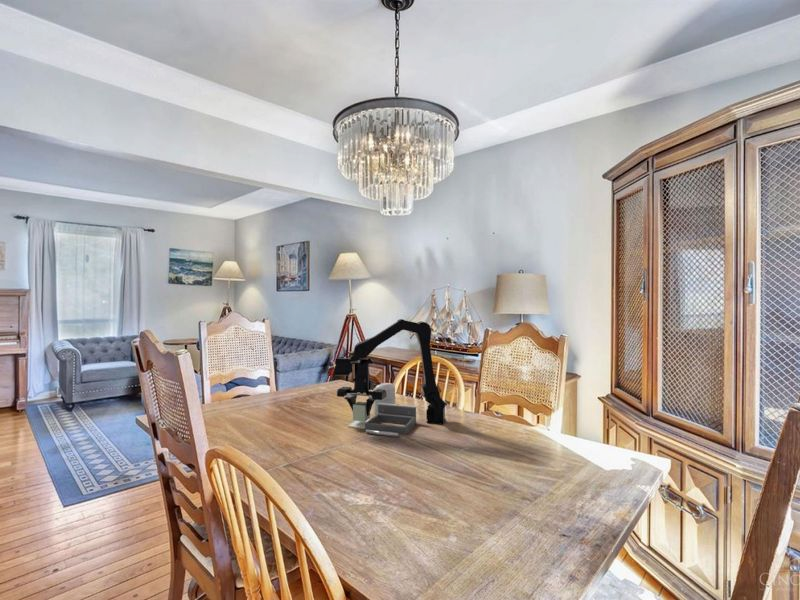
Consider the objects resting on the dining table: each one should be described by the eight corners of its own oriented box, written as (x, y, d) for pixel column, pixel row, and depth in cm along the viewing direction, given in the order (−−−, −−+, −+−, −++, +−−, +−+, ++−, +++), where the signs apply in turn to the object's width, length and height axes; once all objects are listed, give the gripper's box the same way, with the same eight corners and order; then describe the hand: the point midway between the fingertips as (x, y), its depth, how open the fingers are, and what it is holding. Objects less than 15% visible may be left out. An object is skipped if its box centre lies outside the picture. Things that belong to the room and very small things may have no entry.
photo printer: (389, 408, 180) (389, 380, 180) (396, 410, 177) (396, 382, 177) (371, 413, 173) (371, 384, 173) (378, 415, 170) (378, 386, 170)
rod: (398, 436, 145) (398, 432, 145) (397, 437, 144) (397, 433, 144) (367, 432, 149) (367, 428, 149) (365, 434, 147) (365, 430, 147)
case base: (414, 424, 159) (414, 416, 159) (405, 434, 147) (405, 426, 147) (377, 420, 164) (377, 413, 164) (365, 430, 152) (365, 422, 152)
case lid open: (416, 422, 160) (416, 406, 160) (415, 424, 159) (415, 407, 159) (378, 419, 165) (378, 402, 165) (376, 420, 164) (376, 403, 164)
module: (369, 417, 160) (369, 401, 160) (365, 421, 156) (364, 405, 156) (358, 416, 162) (358, 400, 162) (352, 420, 157) (352, 404, 157)
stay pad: (374, 421, 163) (374, 420, 163) (364, 428, 153) (364, 427, 153) (358, 419, 165) (358, 418, 165) (347, 426, 155) (347, 425, 155)
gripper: (391, 372, 164) (391, 411, 164) (348, 370, 169) (348, 407, 169) (381, 378, 153) (381, 419, 153) (336, 375, 159) (336, 415, 159)
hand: (361, 415), depth 159 cm, fingers closed on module, 5 cm apart
